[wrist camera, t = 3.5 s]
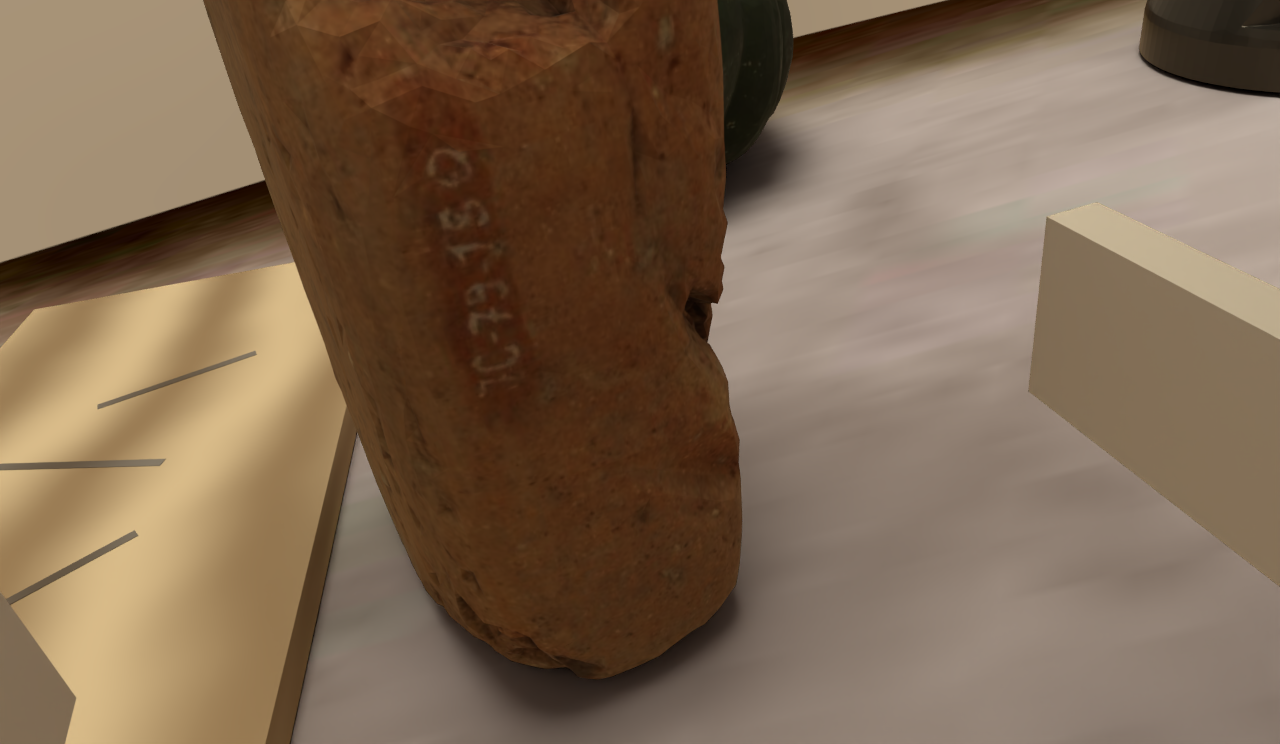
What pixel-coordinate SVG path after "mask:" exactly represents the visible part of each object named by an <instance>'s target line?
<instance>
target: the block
mask: <svg viewBox="0 0 1280 744" xmlns="http://www.w3.org/2000/svg"><path fill="white" fill-rule="evenodd" d="M203 1H204V5H205V8H206V11H207V14H208V17H209V20H210V23H211V26H212V29H213V32H214V35H215V38H216V41H217V44H218V47H219V50H220V53H221V56H222V59H223V62H224V65H225V67H226V70H227V74H228V76H229V79H230V82H231V85H232V88H233V91H234V94H235V97H236V100H237V103H238V106H239V108H240V111H241V114H242V116H243V119H244V122H245V124H246V127H247V129H248V132H249V135H250V137H251V139H252V143H253V145H254V147H255V150H256V154H257V157H258V160H259V163H260V166H261V169H262V172H263V175H264V177H265V180H266V183H267V186H268V189H269V192H270V195H271V198H272V201H273V204H274V206H275V209H276V212H277V215H278V218H279V221H280V223H281V226H282V229H283V232H284V234H285V237H286V240H287V242H288V245H289V248H290V251H291V253H292V256H293V259H294V262H295V265H296V267H297V270H298V273H299V276H300V279H301V282H302V285H303V288H304V290H305V293H306V296H307V298H308V301H309V303H310V306H311V309H312V311H313V314H314V317H315V319H316V322H317V325H318V327H319V330H320V333H321V336H322V338H323V341H324V344H325V347H326V350H327V353H328V356H329V359H330V362H331V365H332V368H333V372H334V375H335V378H336V381H337V383H338V385H339V387H340V389H341V391H342V394H343V397H344V400H345V403H346V405H347V408H348V410H349V413H350V415H351V417H352V420H353V422H354V424H355V427H356V429H357V432H358V435H359V437H360V440H361V443H362V445H363V448H364V451H365V453H366V456H367V459H368V461H369V464H370V467H371V469H372V472H373V475H374V477H375V480H376V482H377V485H378V487H379V489H380V492H381V494H382V496H383V499H384V501H385V504H386V506H387V508H388V511H389V513H390V515H391V518H392V520H393V523H394V525H395V527H396V529H397V532H398V534H399V536H400V538H401V541H402V543H403V545H404V547H405V549H406V551H407V553H408V555H409V558H410V560H411V562H412V565H413V567H414V569H415V571H416V573H417V575H418V577H419V578H420V580H421V582H422V584H423V586H424V588H425V590H426V591H427V592H428V593H429V595H430V596H431V597H432V598H433V599H434V600H435V602H436V603H437V604H439V605H441V606H443V607H444V608H445V610H446V611H447V612H448V614H449V615H450V617H452V618H453V619H454V620H455V621H456V622H458V623H459V624H460V625H461V626H462V627H464V628H465V629H466V630H467V631H468V632H469V633H470V634H472V635H473V636H474V637H476V638H479V639H481V640H483V641H485V642H486V643H488V644H489V645H490V646H491V647H493V649H494V650H495V651H497V652H498V653H500V654H501V655H503V656H505V657H506V658H508V659H509V660H511V661H513V662H517V663H522V664H526V665H530V666H534V667H540V668H545V669H551V668H560V667H568V668H569V669H571V670H572V671H573V672H574V673H575V674H576V675H577V676H578V677H581V678H588V679H596V680H597V679H602V678H607V677H612V676H614V675H617V674H619V673H622V672H624V671H627V670H629V669H632V668H634V667H636V666H639V665H641V664H643V663H645V662H648V661H650V660H652V659H654V658H656V657H658V656H660V655H661V654H662V653H664V652H665V651H666V650H667V649H669V648H670V647H671V646H673V645H674V644H675V643H677V642H678V641H679V640H681V639H682V638H683V637H685V636H686V635H687V634H689V633H690V632H692V631H693V630H695V629H697V628H698V627H700V626H702V625H704V624H705V623H706V622H707V621H708V620H709V619H710V618H711V617H712V616H713V615H714V613H715V612H716V611H717V610H718V609H719V608H720V607H721V606H722V604H723V603H724V601H725V600H726V598H727V597H728V595H729V594H730V592H731V591H732V590H733V588H734V587H735V585H736V582H737V576H738V570H739V564H740V551H741V537H742V502H741V478H740V469H739V463H738V461H739V436H738V433H737V430H736V426H735V423H734V420H733V417H732V415H731V410H730V406H729V390H728V380H727V378H726V375H725V373H724V370H723V367H722V365H721V364H720V362H719V360H718V358H717V356H716V354H715V353H714V351H713V349H712V348H711V346H710V344H708V343H707V341H708V336H709V331H710V325H711V320H712V308H711V303H717V304H718V302H719V299H720V296H721V294H722V291H723V284H722V277H723V272H724V265H723V262H722V260H721V254H722V248H723V243H724V238H725V233H726V229H727V224H728V222H727V219H726V216H725V213H724V211H723V204H724V193H725V182H726V163H725V146H724V102H723V66H722V50H721V36H720V25H719V14H718V3H717V0H203Z"/></svg>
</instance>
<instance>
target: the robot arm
mask: <svg viewBox="0 0 1280 744" xmlns="http://www.w3.org/2000/svg"><path fill="white" fill-rule="evenodd" d="M1139 50H1140V53H1141V55H1142V56H1143V57H1144V58H1145V59H1146V60H1147V61H1148V62H1150V63H1151V64H1153V65H1154V66H1156V67H1158V68H1160V69H1162V70H1165V71H1167V72H1170V73H1172V74H1175V75H1178V76H1182V77H1185V78H1189V79H1192V80H1197V81H1201V82H1205V83H1210V84H1215V85H1221V86H1227V87H1233V88H1240V89H1248V90H1257V91H1267V92H1279V93H1280V0H1147V3H1146V7H1145V11H1144V18H1143V24H1142V31H1141V38H1140V44H1139ZM1028 391H1029V392H1030V393H1031V394H1033V395H1034V396H1035V397H1037V398H1038V399H1039V400H1040V401H1042V402H1043V403H1044V404H1046V405H1047V406H1048V407H1049V408H1051V409H1052V410H1053V411H1055V412H1056V413H1057V414H1058V415H1060V416H1061V417H1062V418H1064V419H1065V420H1066V421H1067V422H1069V423H1070V424H1071V425H1073V426H1074V427H1075V428H1076V429H1078V430H1079V431H1080V432H1082V433H1083V434H1084V435H1085V436H1087V437H1088V438H1089V439H1091V440H1092V441H1093V442H1094V443H1096V444H1097V445H1098V446H1100V447H1101V448H1102V449H1103V450H1105V451H1106V452H1107V453H1109V454H1110V455H1111V456H1112V457H1114V458H1115V459H1116V460H1118V461H1119V462H1120V463H1121V464H1123V465H1124V466H1125V467H1127V468H1128V469H1129V470H1130V471H1132V472H1133V473H1134V474H1136V475H1137V476H1138V477H1139V478H1141V479H1142V480H1143V481H1145V482H1146V483H1147V484H1148V485H1150V486H1151V487H1152V488H1154V489H1155V490H1156V491H1157V492H1159V493H1160V494H1161V495H1163V496H1164V497H1165V498H1166V499H1168V500H1169V501H1170V502H1172V503H1173V504H1174V505H1175V506H1177V507H1178V508H1179V509H1181V510H1182V511H1183V512H1184V513H1186V514H1187V515H1188V516H1189V517H1191V518H1192V519H1193V520H1195V521H1196V522H1197V523H1198V524H1200V525H1201V526H1202V527H1204V528H1205V529H1206V530H1207V531H1209V532H1210V533H1211V534H1213V535H1214V536H1215V537H1216V538H1218V539H1219V540H1220V541H1222V542H1223V543H1224V544H1225V545H1227V546H1228V547H1229V548H1231V549H1232V550H1233V551H1234V552H1236V553H1237V554H1238V555H1240V556H1241V557H1242V558H1243V559H1245V560H1246V561H1247V562H1249V563H1250V564H1251V565H1252V566H1254V567H1255V568H1256V569H1258V570H1259V571H1260V572H1261V573H1263V574H1264V575H1265V576H1267V577H1268V578H1269V579H1270V580H1272V581H1273V582H1274V583H1276V584H1277V585H1278V586H1279V587H1280V289H1278V288H1276V287H1274V286H1272V285H1270V284H1268V283H1266V282H1264V281H1262V280H1260V279H1257V278H1255V277H1253V276H1251V275H1249V274H1247V273H1245V272H1243V271H1241V270H1238V269H1236V268H1234V267H1232V266H1230V265H1228V264H1226V263H1224V262H1222V261H1220V260H1217V259H1215V258H1213V257H1211V256H1209V255H1207V254H1205V253H1203V252H1201V251H1199V250H1196V249H1194V248H1192V247H1190V246H1188V245H1186V244H1184V243H1182V242H1180V241H1178V240H1175V239H1173V238H1171V237H1169V236H1167V235H1165V234H1163V233H1161V232H1159V231H1157V230H1154V229H1152V228H1150V227H1148V226H1146V225H1144V224H1142V223H1140V222H1138V221H1136V220H1133V219H1131V218H1129V217H1127V216H1125V215H1123V214H1121V213H1119V212H1117V211H1115V210H1112V209H1110V208H1108V207H1106V206H1104V205H1102V204H1100V203H1098V202H1096V203H1093V204H1089V205H1086V206H1082V207H1079V208H1075V209H1072V210H1068V211H1065V212H1061V213H1057V214H1054V215H1050V216H1047V219H1046V228H1045V238H1044V247H1043V257H1042V266H1041V276H1040V285H1039V295H1038V304H1037V314H1036V323H1035V333H1034V342H1033V352H1032V361H1031V371H1030V380H1029V390H1028ZM75 701H76V696H75V695H74V694H73V692H72V691H71V690H70V688H69V687H68V685H67V684H66V683H65V681H64V680H63V678H62V677H61V676H60V674H59V673H58V671H57V670H56V669H55V667H54V666H53V664H52V663H51V662H50V660H49V659H48V657H47V656H46V655H45V653H44V652H43V650H42V649H41V648H40V646H39V645H38V643H37V642H36V641H35V639H34V638H33V636H32V635H31V634H30V632H29V631H28V630H27V628H26V627H25V625H24V624H23V623H22V621H21V620H20V618H19V617H18V616H17V614H16V613H15V611H14V610H13V609H12V607H11V606H10V604H9V603H8V602H7V600H6V599H5V597H4V596H3V595H2V593H1V592H0V744H65V742H66V738H67V733H68V729H69V725H70V721H71V717H72V713H73V709H74V705H75Z"/></svg>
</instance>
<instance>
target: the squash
mask: <svg viewBox="0 0 1280 744" xmlns="http://www.w3.org/2000/svg"><path fill="white" fill-rule="evenodd" d="M717 3H718V14H719V25H720V36H721V50H722V66H723V102H724V146H725V163H726V164H727V163H730V162H732V161H734V160H735V159H737V158H738V157H740V156H741V155H743V154H744V153H745V152H746V151H747V150H748V149H749V148H750V147H751V146H752V145H753V144H754V143H755V141H756V140H757V138H758V137H759V135H760V134H761V132H762V130H763V128H764V126H765V125H766V123H767V121H768V119H769V118H770V117H771V115H772V114H773V113H774V111H775V109H776V107H777V105H778V103H779V101H780V98H781V96H782V93H783V90H784V88H785V85H786V81H787V78H788V73H789V69H790V65H791V60H792V56H793V31H792V23H791V16H790V11H789V7H788V4H787V0H717Z"/></svg>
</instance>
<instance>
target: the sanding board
mask: <svg viewBox="0 0 1280 744" xmlns="http://www.w3.org/2000/svg"><path fill="white" fill-rule="evenodd" d="M356 433H357V429H356V427H355V424H354V422H353V420H352V417H351V415H350V413H349V410H348V408H347V405H346V403H345V400H344V397H343V394H342V391H341V389H340V387H339V385H338V383H337V381H336V378H335V375H334V372H333V368H332V365H331V362H330V359H329V356H328V353H327V350H326V347H325V344H324V341H323V338H322V336H321V333H320V330H319V327H318V325H317V322H316V319H315V317H314V314H313V311H312V309H311V306H310V303H309V301H308V298H307V296H306V293H305V290H304V288H303V285H302V282H301V279H300V276H299V273H298V270H297V267H296V265H295V262H294V263H288V264H283V265H277V266H272V267H266V268H261V269H255V270H250V271H244V272H239V273H233V274H228V275H222V276H217V277H211V278H206V279H200V280H195V281H189V282H184V283H178V284H173V285H167V286H162V287H157V288H151V289H146V290H140V291H135V292H129V293H124V294H118V295H113V296H107V297H102V298H96V299H91V300H85V301H80V302H74V303H69V304H63V305H58V306H52V307H47V308H41V309H36V310H34V311H33V312H32V313H31V314H30V315H29V316H28V317H27V319H26V320H25V321H24V322H23V323H22V324H21V325H20V327H19V328H18V329H17V330H16V331H15V332H14V333H13V334H12V336H11V337H10V338H9V339H8V340H7V341H6V342H5V343H4V345H3V346H2V347H1V348H0V592H1V593H2V595H3V596H4V597H5V599H6V600H7V602H8V603H9V604H10V606H11V607H12V609H13V610H14V611H15V613H16V614H17V616H18V617H19V618H20V620H21V621H22V623H23V624H24V625H25V627H26V628H27V630H28V631H29V632H30V634H31V635H32V636H33V638H34V639H35V641H36V642H37V643H38V645H39V646H40V648H41V649H42V650H43V652H44V653H45V655H46V656H47V657H48V659H49V660H50V662H51V663H52V664H53V666H54V667H55V669H56V670H57V671H58V673H59V674H60V676H61V677H62V678H63V680H64V681H65V683H66V684H67V685H68V687H69V688H70V690H71V691H72V692H73V694H74V695H75V696H76V701H75V705H74V709H73V713H72V717H71V721H70V725H69V729H68V733H67V738H66V742H65V744H290V740H291V735H292V731H293V726H294V721H295V717H296V712H297V707H298V703H299V698H300V694H301V689H302V684H303V680H304V675H305V670H306V666H307V661H308V656H309V652H310V647H311V642H312V638H313V633H314V628H315V624H316V619H317V614H318V610H319V605H320V600H321V596H322V591H323V586H324V582H325V577H326V572H327V568H328V563H329V559H330V554H331V549H332V545H333V540H334V535H335V531H336V526H337V521H338V517H339V512H340V507H341V503H342V498H343V493H344V489H345V484H346V479H347V475H348V470H349V465H350V461H351V456H352V451H353V447H354V442H355V438H356Z"/></svg>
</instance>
